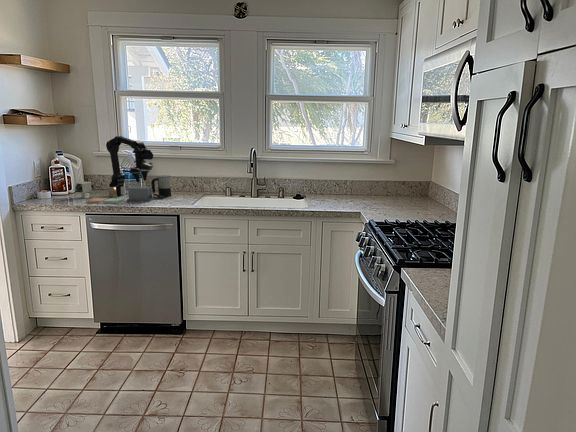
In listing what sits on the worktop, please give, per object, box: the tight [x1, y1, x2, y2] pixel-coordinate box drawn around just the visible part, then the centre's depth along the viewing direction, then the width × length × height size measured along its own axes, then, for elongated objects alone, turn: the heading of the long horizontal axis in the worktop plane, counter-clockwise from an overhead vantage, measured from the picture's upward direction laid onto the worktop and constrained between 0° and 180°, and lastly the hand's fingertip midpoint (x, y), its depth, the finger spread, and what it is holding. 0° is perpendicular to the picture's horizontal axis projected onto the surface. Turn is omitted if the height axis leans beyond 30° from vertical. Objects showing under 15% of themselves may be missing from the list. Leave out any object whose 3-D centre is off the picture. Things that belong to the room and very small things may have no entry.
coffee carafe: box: [150, 174, 172, 199], centre depth 308 cm, size 14×16×15 cm
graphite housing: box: [127, 186, 155, 202], centre depth 297 cm, size 8×16×9 cm, turn 84°
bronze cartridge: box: [107, 186, 118, 199], centre depth 302 cm, size 5×5×8 cm
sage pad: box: [102, 197, 125, 205], centre depth 290 cm, size 10×10×2 cm
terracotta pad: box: [85, 197, 109, 204], centre depth 292 cm, size 10×10×2 cm
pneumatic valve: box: [75, 181, 94, 199], centre depth 304 cm, size 6×12×12 cm, turn 155°
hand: (141, 181), depth 301 cm, fingers open, 9 cm apart
